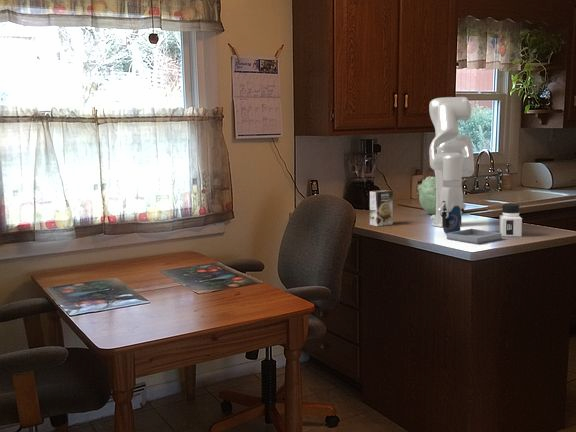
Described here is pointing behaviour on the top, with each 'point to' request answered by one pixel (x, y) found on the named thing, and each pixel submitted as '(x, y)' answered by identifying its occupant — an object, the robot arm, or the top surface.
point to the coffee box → (381, 208)
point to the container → (510, 220)
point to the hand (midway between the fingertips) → (451, 225)
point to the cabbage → (428, 195)
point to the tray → (474, 236)
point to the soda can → (453, 220)
